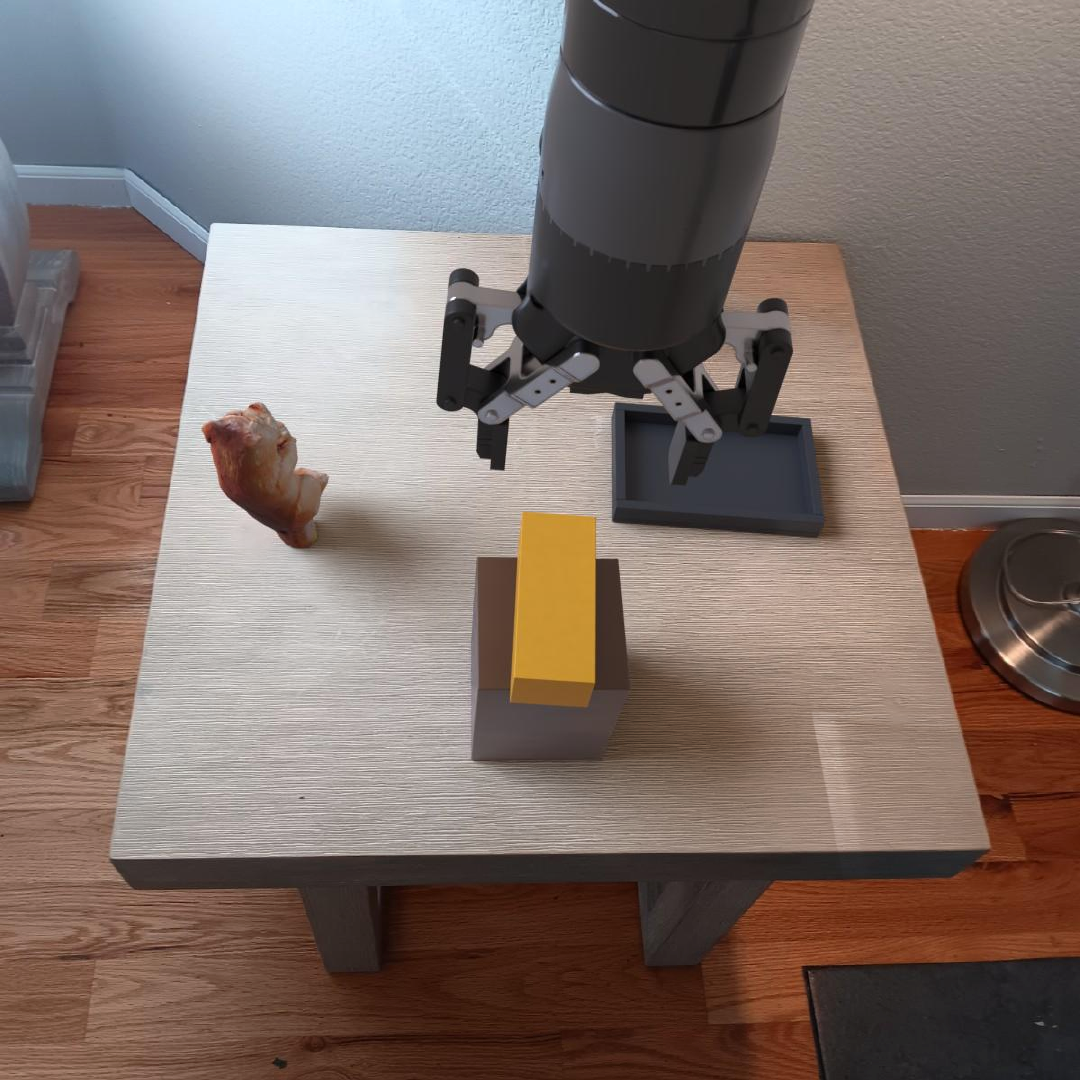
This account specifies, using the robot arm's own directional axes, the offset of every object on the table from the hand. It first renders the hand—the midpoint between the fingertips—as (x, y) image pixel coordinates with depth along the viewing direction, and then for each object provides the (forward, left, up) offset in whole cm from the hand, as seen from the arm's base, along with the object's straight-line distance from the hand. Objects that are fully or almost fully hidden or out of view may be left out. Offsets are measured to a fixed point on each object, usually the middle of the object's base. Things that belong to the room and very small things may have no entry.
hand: (588, 463), depth 48 cm
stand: (0, 0, -28) cm, 28 cm away
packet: (0, 0, -16) cm, 16 cm away
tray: (+7, -24, -28) cm, 37 cm away
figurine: (+22, +7, -28) cm, 36 cm away
